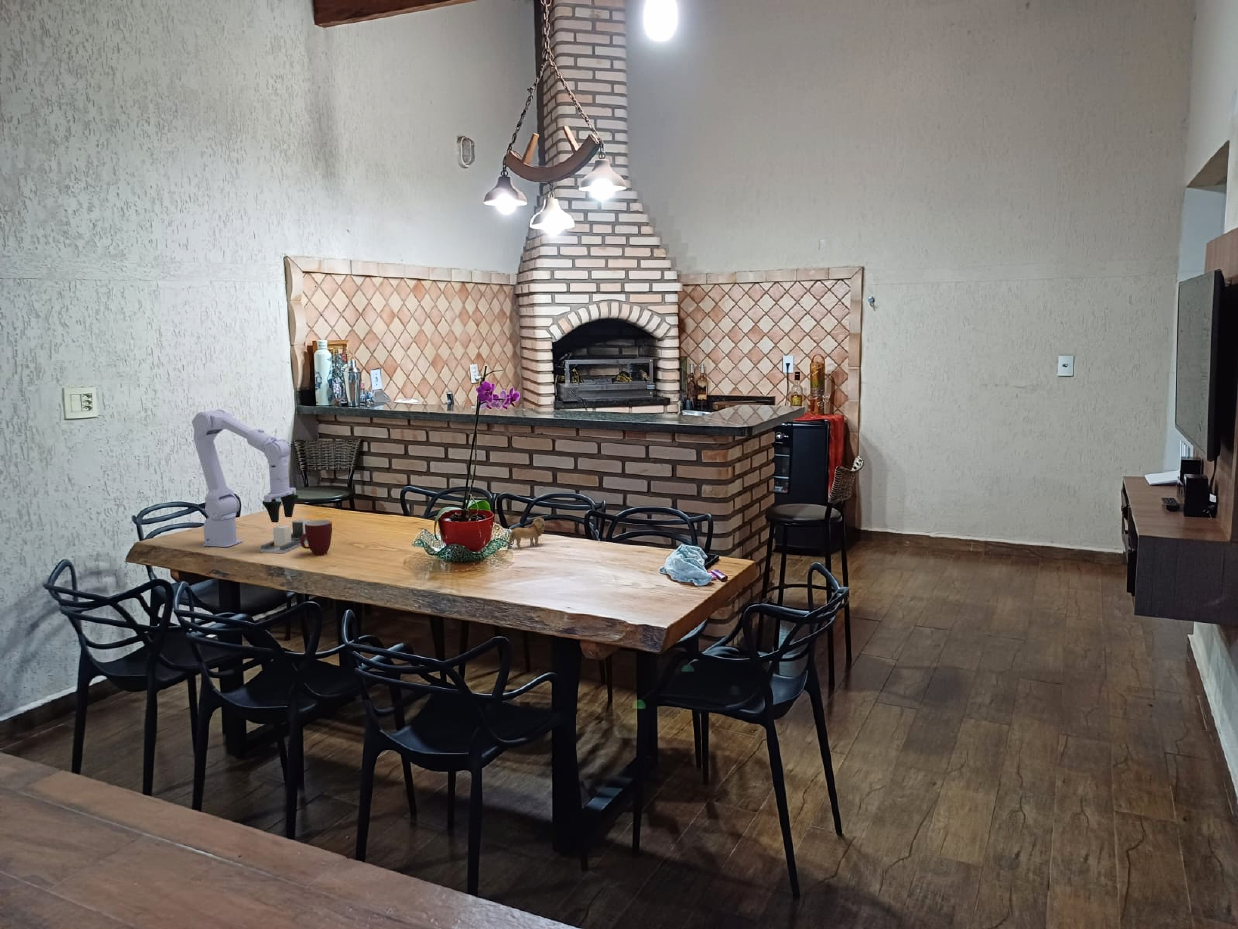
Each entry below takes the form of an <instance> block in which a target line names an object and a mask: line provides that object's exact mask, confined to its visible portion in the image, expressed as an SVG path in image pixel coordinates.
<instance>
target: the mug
mask: <svg viewBox="0 0 1238 929" xmlns="http://www.w3.org/2000/svg"><path fill="white" fill-rule="evenodd" d="M332 534H333V523H332V521H331V520H328V519H318V520H317V519H316V520H309V522H306V523H305V534H303V535H302V537H301V540H300V543H301V546H300V547H301V548H303V549H305V550H310V552H311V553H312V554H313V555H314V556H323V555H326V554H327V553H328V551H329V550H330V547H331V545H332V544H331V542H332ZM305 538H307V542H308V543H307V545H308V546H307V545H306V544H305V543H304V540H305Z"/></svg>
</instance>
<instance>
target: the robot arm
mask: <svg viewBox="0 0 1238 929" xmlns="http://www.w3.org/2000/svg"><path fill="white" fill-rule="evenodd" d="M191 425H192V427H193V441H194V446H195V448H196V452H197V454H198V459H199V462H200V465H201V466H200V467H201V468H202V471H203V472H202V473H203V476H204V479H205V482H206V483H205V484H206V486H207V489H208V492H207V493H206V495H205V497H204V501H205V506H204V509H205V513H206V515H207V518H206V519H205V520H204V523H203V537H204V543H203V546H205V547H220V548H229V547H233V546H234V545H238V544H239V543H242V542H244V540H243V539H238V538H237V537H238V536H237V535H238V534H237V524H236V523H237V522H236V520H237V519H236V516H237V513H238V512H239V510H240V501H239V499H238V498H237V497H236V495H235V493H234V491H233V489H231V488H229V487H228V486H227V484H226V479H225V476H224V473H223V470H222V465H221V463H220V459H219V456H218V453H217V449H216V445H215V442H214V440H215V439H216V438H217V436H218V434H220V433H221V432H222V431H224V430H227V431H229V432H232V433H233V434H235V435H238V436H240V437H242V438H243V439H246V442H247V444H248V445H249V446H251V447H253V448H254V449H256V450H258V451H260V452H262V453H263V454H264V457H265V458H266V460H267V464H268V470H269V472H268V473H269V487H270V488H269V489H270V491H269V492H268V493H267V494H265V495H263V500H262V505H263V506H264V507H265V509H266V511H267V513H268V515H269V520H270V522H271V523H279V520H280V509H281V505H282V506H283V514H284V518H293V515H294V514H293V513H294V509H295V505H296V502H297V500H298V499H299V494H297V488H296V487H290V478H289V477H290V475H289V460H288V459H289V458H288V457H289V456H290V454H291V452H292V451H291V450H292V449H291V445H290V443H289V442H288V441H286V440H285V439H277V437H276V436H272V435H271V434H268V433H266V432H265V430H264V429H262V428H259V429H258V428H254V429H252V428H250V427H249V426H248V425H245V424H244V423H243V422H241V421H240V420H238V419H237V418H235V417H233V416H232V414H231V413H229V412H226V411H225V410H223V409H216V410H210V411H200V412H197V413H196V414H195V415H194V417H193V419H192V420H191ZM277 499H278V500H277ZM279 499H280V500H281V501H280V500H279Z"/></svg>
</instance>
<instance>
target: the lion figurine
mask: <svg viewBox="0 0 1238 929" xmlns="http://www.w3.org/2000/svg"><path fill="white" fill-rule="evenodd" d="M545 527H546V523H545V520H544V518H543V517H536V518H534V519H533V522H532V523H531V524H530V525H529V526H528V527H515V528H513V529H512V530H511V531H510V534H509V537H508V541H509V544H507V547H506V550H509V549H512V548H513V546H512V545H511V544H512V543H513V542H514V541H515V540H516V547H517V548H518V549H519V550H523V549H524V547H523V546H521V541H522V539H525V540H528V539H529V540H530V541H529V542H530V543H529V544H530V546H534V545H535V547H537V548H538V547H540V544H539V537H541V536H542V535H543V533H544V531H545Z"/></svg>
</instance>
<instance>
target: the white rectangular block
mask: <svg viewBox="0 0 1238 929" xmlns="http://www.w3.org/2000/svg"><path fill="white" fill-rule="evenodd" d="M291 528H292V526H291V525H277V526H274V527H272V532H273V533H272V534H273V541H274V546H282V545H285V544H287V543H290V542H291V533H292V530H291Z"/></svg>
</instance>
